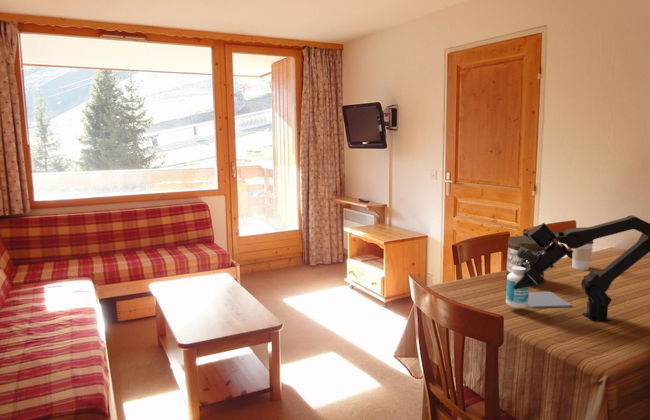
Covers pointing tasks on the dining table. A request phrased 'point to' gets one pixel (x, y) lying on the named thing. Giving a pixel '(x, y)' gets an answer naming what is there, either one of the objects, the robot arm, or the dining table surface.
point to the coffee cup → (582, 256)
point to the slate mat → (546, 300)
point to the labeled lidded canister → (514, 246)
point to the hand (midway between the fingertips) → (513, 285)
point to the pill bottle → (516, 295)
